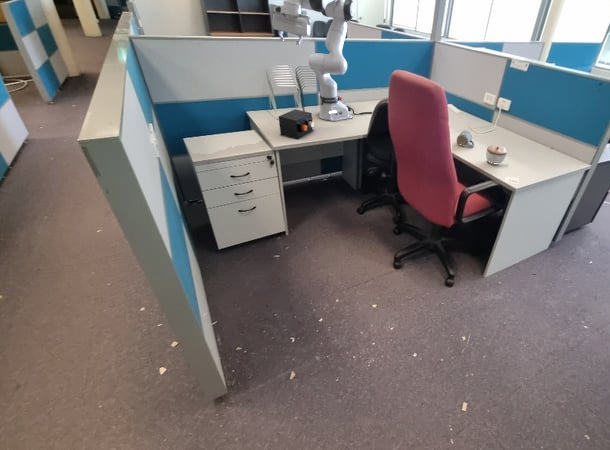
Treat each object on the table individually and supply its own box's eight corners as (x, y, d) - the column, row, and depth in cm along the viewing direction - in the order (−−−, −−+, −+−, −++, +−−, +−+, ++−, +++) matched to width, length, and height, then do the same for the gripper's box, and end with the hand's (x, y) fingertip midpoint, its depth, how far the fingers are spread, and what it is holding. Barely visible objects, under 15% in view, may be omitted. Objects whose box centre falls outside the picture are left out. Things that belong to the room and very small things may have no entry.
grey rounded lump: (454, 145, 201) (457, 132, 196) (459, 140, 207) (461, 129, 202) (471, 149, 197) (474, 137, 193) (475, 145, 203) (478, 133, 199)
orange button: (304, 129, 194) (304, 123, 192) (307, 129, 194) (307, 124, 192) (301, 130, 192) (301, 125, 190) (304, 131, 191) (304, 126, 189)
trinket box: (485, 156, 190) (489, 141, 184) (504, 161, 187) (509, 145, 181) (482, 164, 182) (486, 148, 176) (502, 168, 179) (507, 152, 173)
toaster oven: (298, 126, 210) (297, 108, 203) (316, 130, 206) (315, 112, 199) (280, 135, 196) (278, 116, 189) (299, 139, 192) (297, 120, 185)
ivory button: (311, 125, 199) (311, 120, 197) (314, 126, 199) (313, 121, 197) (308, 127, 197) (308, 122, 195) (311, 127, 196) (310, 122, 194)
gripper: (313, 17, 165) (311, 47, 171) (278, 9, 169) (276, 40, 175) (307, 14, 159) (305, 46, 165) (270, 7, 163) (269, 38, 169)
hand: (290, 43), depth 170 cm, fingers open, 8 cm apart
